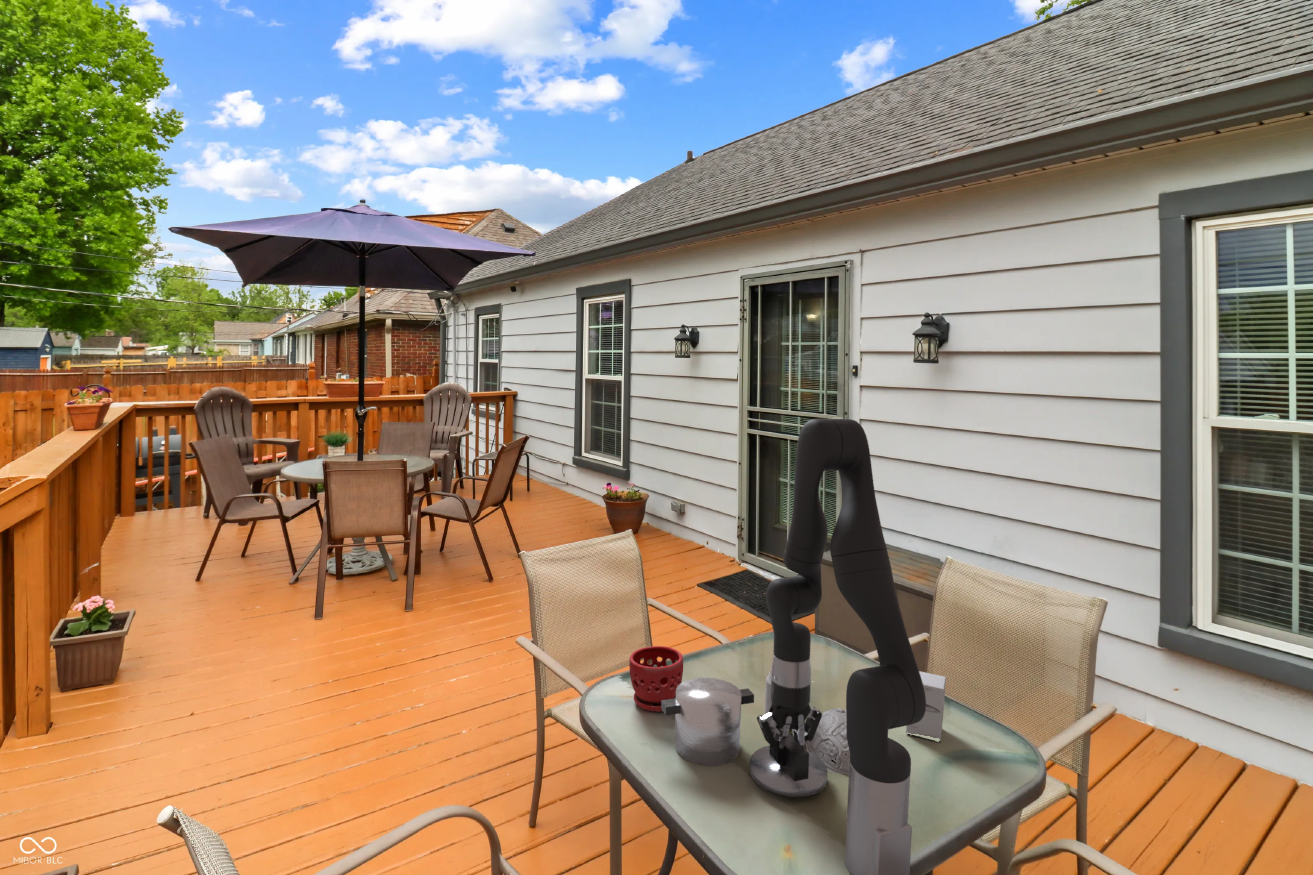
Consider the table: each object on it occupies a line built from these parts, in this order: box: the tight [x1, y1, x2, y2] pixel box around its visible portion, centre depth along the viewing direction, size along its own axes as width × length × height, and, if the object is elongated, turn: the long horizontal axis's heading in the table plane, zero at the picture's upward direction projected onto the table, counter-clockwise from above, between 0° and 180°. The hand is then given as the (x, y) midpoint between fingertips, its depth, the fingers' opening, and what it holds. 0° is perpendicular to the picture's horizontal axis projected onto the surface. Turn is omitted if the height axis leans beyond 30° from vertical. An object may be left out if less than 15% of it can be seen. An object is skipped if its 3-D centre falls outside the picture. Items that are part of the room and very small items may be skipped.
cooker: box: [661, 677, 755, 766], centre depth 137 cm, size 14×20×12 cm
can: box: [764, 669, 775, 729], centre depth 147 cm, size 8×8×12 cm
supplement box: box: [905, 670, 947, 740], centre depth 145 cm, size 7×7×13 cm
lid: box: [749, 728, 828, 798], centre depth 126 cm, size 15×15×7 cm
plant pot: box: [628, 645, 684, 713], centre depth 156 cm, size 13×13×12 cm
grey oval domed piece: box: [805, 707, 850, 776], centre depth 140 cm, size 16×25×7 cm, turn 165°
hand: (788, 762), depth 126 cm, fingers closed on lid, 3 cm apart
